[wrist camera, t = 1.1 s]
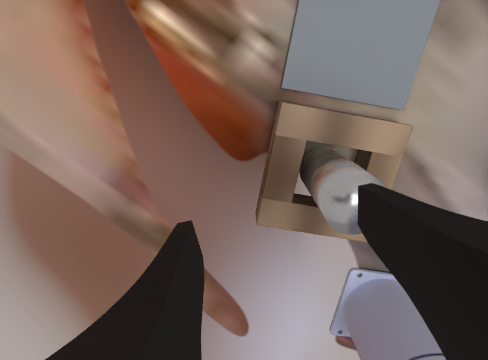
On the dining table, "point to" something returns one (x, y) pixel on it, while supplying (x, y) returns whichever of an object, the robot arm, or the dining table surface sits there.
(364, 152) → the socket block
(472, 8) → the dining table surface
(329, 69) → the slate mat
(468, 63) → the dining table surface
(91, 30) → the dining table surface
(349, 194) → the steel peg
